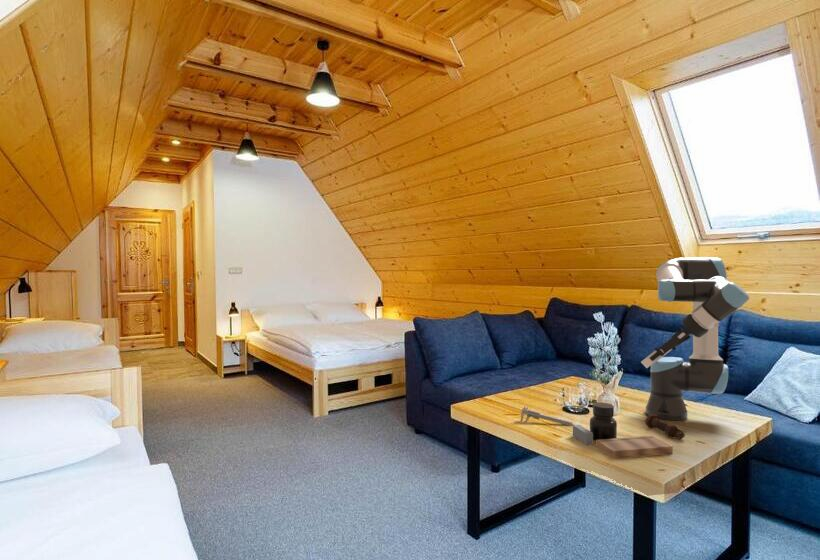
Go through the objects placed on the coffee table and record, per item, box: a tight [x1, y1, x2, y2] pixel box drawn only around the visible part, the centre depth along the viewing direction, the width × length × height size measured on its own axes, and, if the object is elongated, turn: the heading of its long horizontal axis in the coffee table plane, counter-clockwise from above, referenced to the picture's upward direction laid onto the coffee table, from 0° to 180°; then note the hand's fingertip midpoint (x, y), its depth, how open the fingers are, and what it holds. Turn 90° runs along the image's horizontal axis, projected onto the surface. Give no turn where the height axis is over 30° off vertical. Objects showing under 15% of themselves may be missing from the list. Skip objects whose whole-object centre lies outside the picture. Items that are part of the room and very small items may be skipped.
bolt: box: [644, 414, 685, 440], centre depth 174 cm, size 6×5×15 cm
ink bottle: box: [589, 402, 618, 442], centre depth 169 cm, size 10×9×12 cm
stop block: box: [572, 424, 594, 446], centre depth 167 cm, size 2×9×4 cm, turn 10°
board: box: [595, 435, 674, 460], centre depth 158 cm, size 21×10×2 cm, turn 100°
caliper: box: [520, 406, 576, 426], centre depth 186 cm, size 20×1×6 cm, turn 73°
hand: (649, 361), depth 165 cm, fingers open, 13 cm apart
